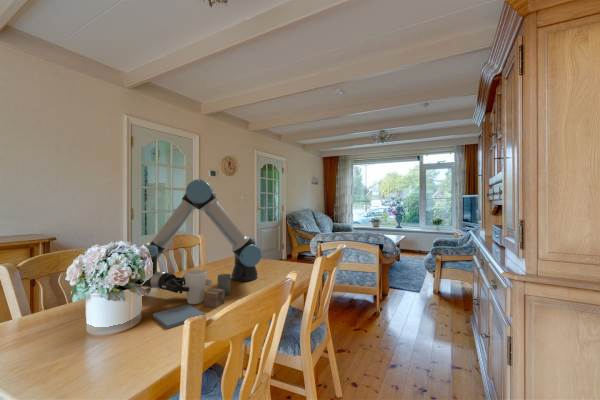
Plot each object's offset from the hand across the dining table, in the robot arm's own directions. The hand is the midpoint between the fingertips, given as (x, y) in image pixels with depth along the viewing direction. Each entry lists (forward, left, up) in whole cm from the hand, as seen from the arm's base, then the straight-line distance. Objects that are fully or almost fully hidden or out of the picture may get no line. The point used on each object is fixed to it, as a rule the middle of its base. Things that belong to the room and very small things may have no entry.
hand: (204, 286), depth 120 cm
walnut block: (-2, +5, -7) cm, 9 cm away
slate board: (+14, +7, -7) cm, 17 cm away
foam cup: (+2, -4, -7) cm, 9 cm away
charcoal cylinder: (-12, -4, -7) cm, 15 cm away
